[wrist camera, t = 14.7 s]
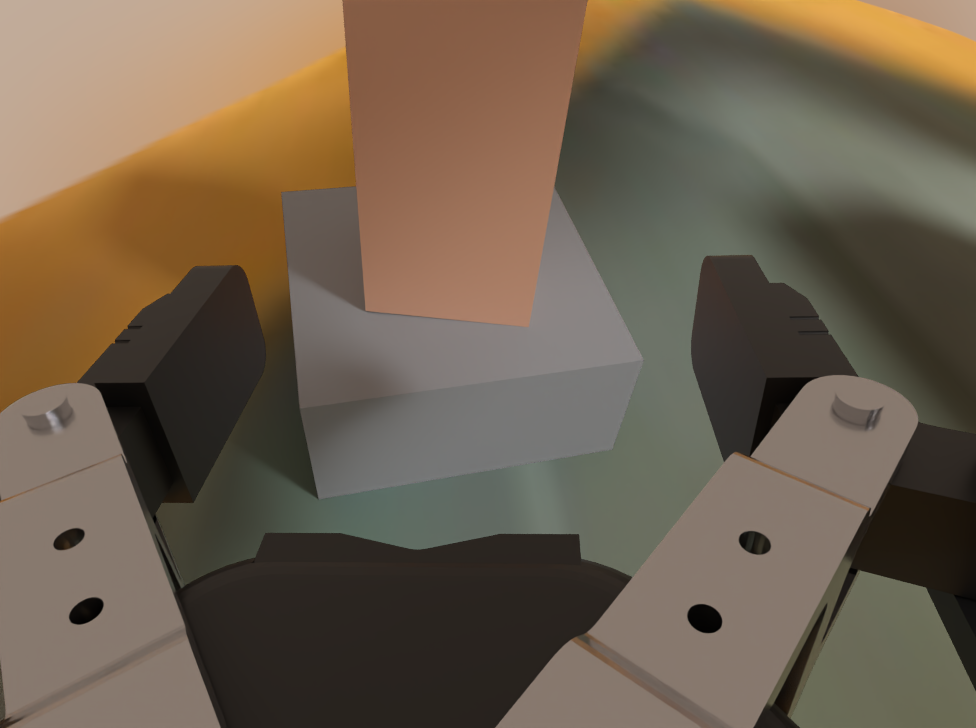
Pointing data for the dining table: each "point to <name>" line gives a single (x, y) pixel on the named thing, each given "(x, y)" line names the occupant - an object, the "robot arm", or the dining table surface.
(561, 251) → the grey base block
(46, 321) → the dining table surface
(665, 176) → the dining table surface
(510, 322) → the terracotta block
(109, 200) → the dining table surface
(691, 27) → the dining table surface
